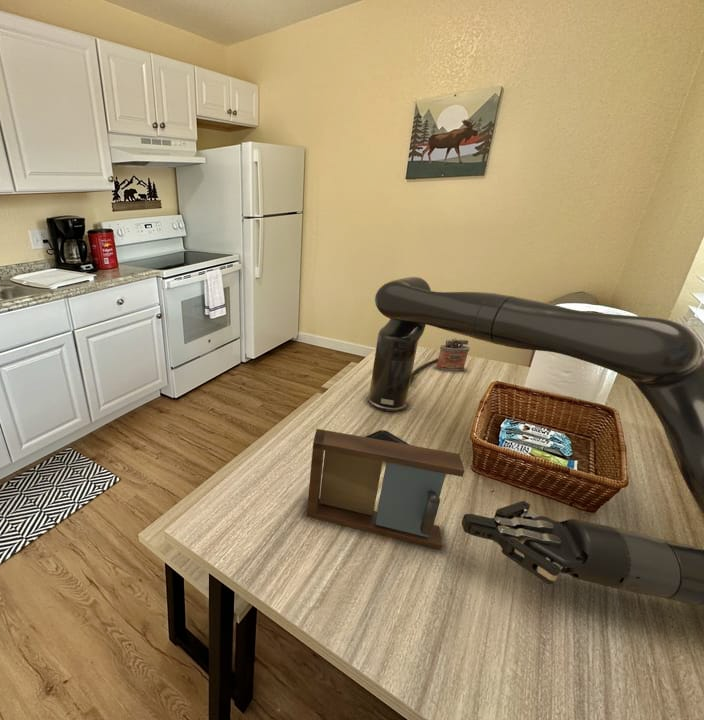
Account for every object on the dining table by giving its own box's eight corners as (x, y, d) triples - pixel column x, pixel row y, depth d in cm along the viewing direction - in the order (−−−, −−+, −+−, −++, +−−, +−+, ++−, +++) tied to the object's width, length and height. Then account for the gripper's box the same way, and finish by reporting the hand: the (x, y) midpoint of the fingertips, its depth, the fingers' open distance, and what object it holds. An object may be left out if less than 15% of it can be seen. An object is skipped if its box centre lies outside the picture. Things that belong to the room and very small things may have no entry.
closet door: (375, 520, 65) (387, 458, 59) (428, 533, 62) (445, 469, 57) (375, 538, 61) (387, 474, 56) (430, 552, 59) (449, 486, 53)
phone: (383, 428, 89) (444, 465, 77) (382, 432, 90) (443, 469, 78) (359, 439, 86) (419, 478, 74) (358, 443, 86) (418, 483, 74)
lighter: (437, 370, 119) (444, 340, 115) (434, 366, 122) (440, 336, 118) (465, 372, 118) (473, 341, 114) (461, 367, 121) (468, 337, 117)
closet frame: (309, 500, 71) (316, 428, 64) (437, 531, 64) (459, 453, 58) (306, 516, 67) (313, 442, 61) (441, 550, 61) (464, 470, 54)
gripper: (599, 499, 54) (461, 473, 60) (657, 582, 43) (480, 540, 49) (580, 537, 58) (450, 509, 63) (630, 624, 46) (466, 580, 52)
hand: (463, 522), depth 56 cm, fingers closed
